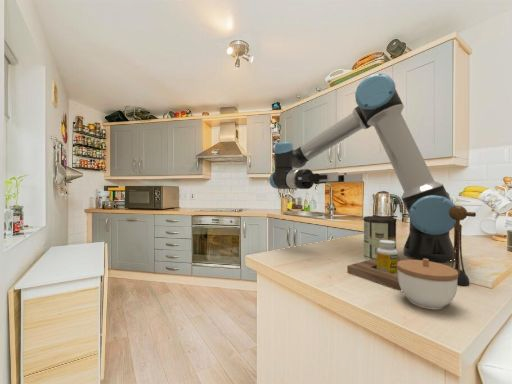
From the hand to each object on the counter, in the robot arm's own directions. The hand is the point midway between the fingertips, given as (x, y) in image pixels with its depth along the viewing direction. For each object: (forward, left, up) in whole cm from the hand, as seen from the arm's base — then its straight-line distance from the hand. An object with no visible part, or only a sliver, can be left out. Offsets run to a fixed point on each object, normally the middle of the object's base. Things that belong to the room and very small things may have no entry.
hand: (350, 177), depth 77 cm
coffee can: (-15, +1, -28) cm, 32 cm away
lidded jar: (+8, +25, -28) cm, 39 cm away
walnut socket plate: (-1, +12, -28) cm, 30 cm away
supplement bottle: (-1, +12, -28) cm, 30 cm away
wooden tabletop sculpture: (-11, +25, -28) cm, 39 cm away
